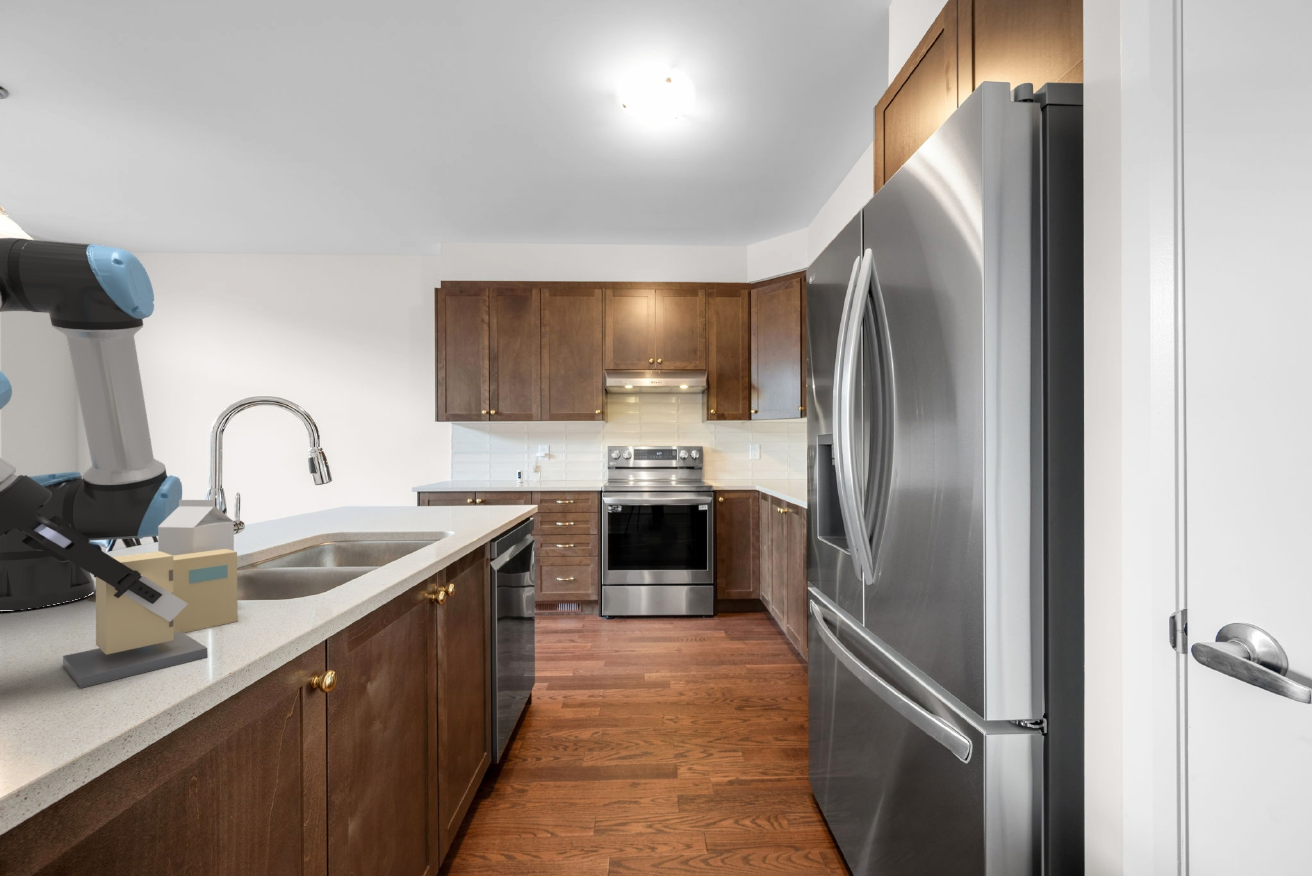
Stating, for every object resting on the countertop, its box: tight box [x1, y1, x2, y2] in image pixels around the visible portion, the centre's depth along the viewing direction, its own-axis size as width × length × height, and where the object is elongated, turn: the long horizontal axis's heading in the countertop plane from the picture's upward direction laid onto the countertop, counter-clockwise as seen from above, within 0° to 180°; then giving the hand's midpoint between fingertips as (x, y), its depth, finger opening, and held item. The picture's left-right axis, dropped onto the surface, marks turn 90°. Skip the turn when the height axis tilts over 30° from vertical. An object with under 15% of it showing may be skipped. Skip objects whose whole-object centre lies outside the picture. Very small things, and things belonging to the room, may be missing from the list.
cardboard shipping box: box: [173, 549, 239, 634], centre depth 91 cm, size 5×9×11 cm, turn 142°
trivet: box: [62, 631, 208, 689], centre depth 76 cm, size 12×12×1 cm
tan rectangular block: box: [95, 551, 174, 655], centre depth 76 cm, size 6×6×11 cm
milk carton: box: [157, 499, 235, 556], centre depth 97 cm, size 7×7×19 cm
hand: (170, 608), depth 79 cm, fingers closed on tan rectangular block, 6 cm apart
